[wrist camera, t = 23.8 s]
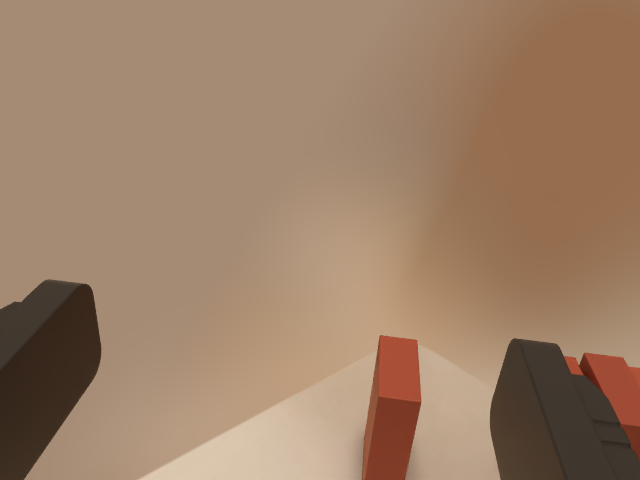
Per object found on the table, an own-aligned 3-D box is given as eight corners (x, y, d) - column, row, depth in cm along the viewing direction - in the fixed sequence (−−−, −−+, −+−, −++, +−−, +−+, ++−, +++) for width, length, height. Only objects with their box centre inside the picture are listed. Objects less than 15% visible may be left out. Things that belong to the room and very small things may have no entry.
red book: (360, 504, 37) (378, 396, 32) (364, 436, 42) (379, 334, 38) (398, 510, 37) (421, 401, 32) (397, 441, 42) (417, 339, 38)
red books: (521, 530, 36) (565, 416, 31) (503, 453, 42) (538, 346, 37) (653, 549, 36) (720, 436, 31) (618, 469, 41) (668, 362, 36)
